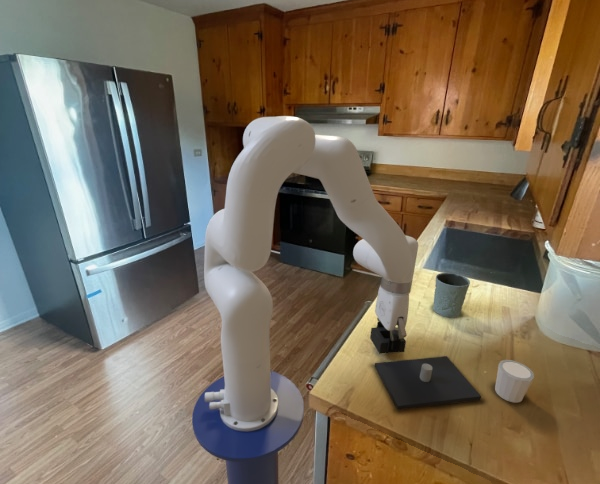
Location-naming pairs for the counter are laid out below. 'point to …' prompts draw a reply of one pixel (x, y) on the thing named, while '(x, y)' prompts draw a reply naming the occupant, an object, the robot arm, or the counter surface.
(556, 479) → the counter surface
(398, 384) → the base pad
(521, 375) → the white short cylinder
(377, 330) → the black square frame
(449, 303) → the grey green embossed cup
